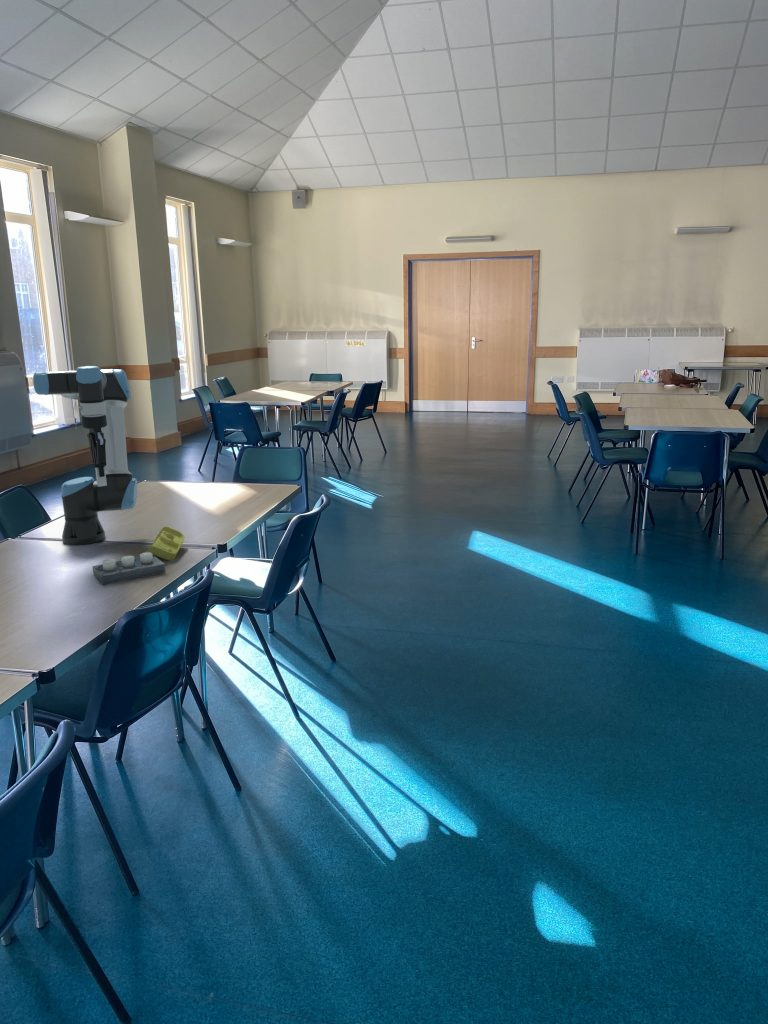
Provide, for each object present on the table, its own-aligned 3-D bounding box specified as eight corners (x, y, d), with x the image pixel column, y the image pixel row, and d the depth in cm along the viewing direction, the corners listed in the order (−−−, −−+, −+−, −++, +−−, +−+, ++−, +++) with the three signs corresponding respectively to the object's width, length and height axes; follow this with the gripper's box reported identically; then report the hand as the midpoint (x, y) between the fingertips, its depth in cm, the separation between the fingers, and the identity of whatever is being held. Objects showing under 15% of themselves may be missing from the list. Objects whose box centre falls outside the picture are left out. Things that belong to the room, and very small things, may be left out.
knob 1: (102, 576, 245) (100, 560, 243) (115, 573, 247) (113, 558, 245) (105, 579, 241) (104, 564, 240) (118, 577, 243) (116, 561, 242)
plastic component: (175, 555, 258) (147, 543, 257) (168, 573, 261) (140, 562, 259) (187, 534, 277) (161, 523, 275) (180, 551, 279) (154, 540, 277)
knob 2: (139, 568, 251) (138, 553, 250) (151, 566, 253) (150, 551, 252) (143, 572, 248) (141, 556, 246) (155, 569, 250) (153, 554, 248)
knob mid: (121, 572, 248) (119, 557, 246) (133, 570, 250) (132, 555, 249) (124, 575, 245) (123, 560, 243) (137, 573, 247) (135, 558, 245)
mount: (93, 574, 247) (92, 566, 246) (154, 563, 257) (153, 554, 257) (102, 585, 237) (101, 576, 236) (165, 572, 248) (164, 563, 247)
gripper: (76, 413, 246) (85, 483, 253) (86, 418, 236) (95, 491, 243) (100, 411, 250) (108, 480, 257) (111, 416, 240) (119, 487, 247)
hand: (102, 485), depth 250 cm, fingers closed
